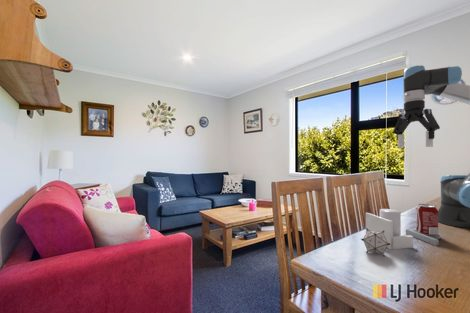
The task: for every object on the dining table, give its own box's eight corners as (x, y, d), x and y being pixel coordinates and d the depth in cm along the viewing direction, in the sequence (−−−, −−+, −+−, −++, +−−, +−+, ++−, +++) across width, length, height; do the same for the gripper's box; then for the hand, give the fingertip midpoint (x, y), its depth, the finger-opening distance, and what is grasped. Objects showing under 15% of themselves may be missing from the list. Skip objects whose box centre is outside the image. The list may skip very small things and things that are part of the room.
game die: (378, 267, 74) (378, 250, 68) (355, 249, 81) (354, 232, 75) (396, 251, 76) (397, 233, 70) (372, 234, 83) (372, 217, 77)
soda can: (442, 237, 87) (442, 207, 87) (422, 236, 88) (422, 206, 88) (431, 231, 93) (431, 203, 93) (412, 230, 95) (412, 203, 95)
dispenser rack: (408, 233, 93) (408, 205, 93) (438, 245, 81) (438, 212, 81) (365, 237, 90) (365, 207, 90) (390, 249, 78) (390, 216, 78)
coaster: (423, 230, 97) (423, 229, 97) (446, 238, 88) (446, 236, 88) (405, 232, 95) (405, 230, 95) (426, 239, 86) (426, 238, 86)
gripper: (384, 106, 113) (384, 148, 114) (435, 93, 89) (435, 146, 89) (397, 107, 115) (397, 148, 115) (451, 94, 90) (451, 146, 90)
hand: (414, 147), depth 102 cm, fingers open, 13 cm apart
